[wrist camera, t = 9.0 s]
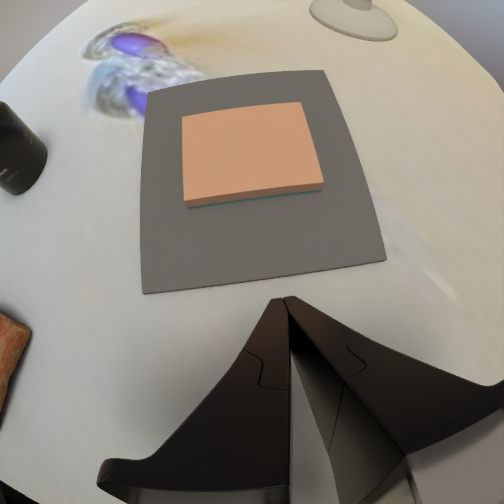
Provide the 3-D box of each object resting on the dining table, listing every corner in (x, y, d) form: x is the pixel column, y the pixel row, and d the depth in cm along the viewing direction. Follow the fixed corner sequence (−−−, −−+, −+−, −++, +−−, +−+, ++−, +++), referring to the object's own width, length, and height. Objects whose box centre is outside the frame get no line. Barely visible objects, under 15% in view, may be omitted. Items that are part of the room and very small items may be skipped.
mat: (384, 260, 21) (387, 259, 20) (145, 294, 21) (142, 293, 20) (322, 73, 26) (323, 70, 25) (149, 95, 26) (147, 92, 25)
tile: (324, 182, 20) (300, 101, 22) (184, 200, 20) (182, 116, 22) (320, 191, 22) (298, 113, 24) (188, 209, 22) (185, 127, 24)
